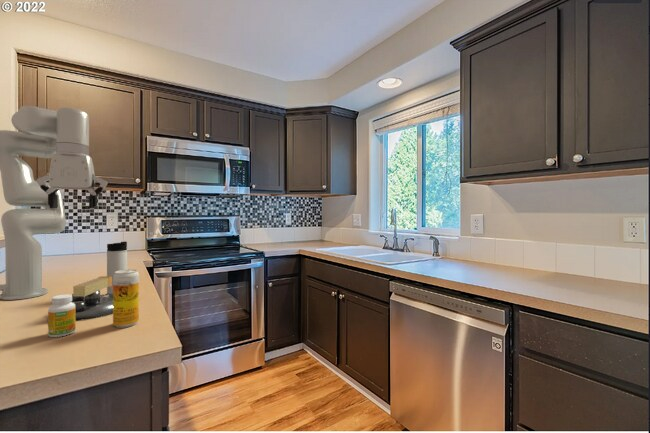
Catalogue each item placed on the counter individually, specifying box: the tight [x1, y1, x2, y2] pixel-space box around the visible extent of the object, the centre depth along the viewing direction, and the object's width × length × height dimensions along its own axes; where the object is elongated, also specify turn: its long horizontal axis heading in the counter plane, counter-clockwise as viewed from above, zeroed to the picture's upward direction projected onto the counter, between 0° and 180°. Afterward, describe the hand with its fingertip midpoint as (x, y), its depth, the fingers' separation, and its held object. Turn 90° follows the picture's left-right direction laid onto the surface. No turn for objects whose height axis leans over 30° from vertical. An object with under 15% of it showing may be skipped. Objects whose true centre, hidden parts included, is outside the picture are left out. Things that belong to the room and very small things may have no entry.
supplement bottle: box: [47, 293, 76, 338], centre depth 80 cm, size 5×5×10 cm
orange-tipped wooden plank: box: [72, 275, 112, 305], centre depth 99 cm, size 13×4×7 cm, turn 5°
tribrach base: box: [71, 293, 113, 321], centre depth 98 cm, size 18×18×4 cm
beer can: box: [112, 268, 140, 329], centre depth 87 cm, size 6×6×15 cm
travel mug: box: [106, 241, 128, 296], centre depth 116 cm, size 6×7×20 cm
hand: (73, 208), depth 93 cm, fingers open, 9 cm apart
